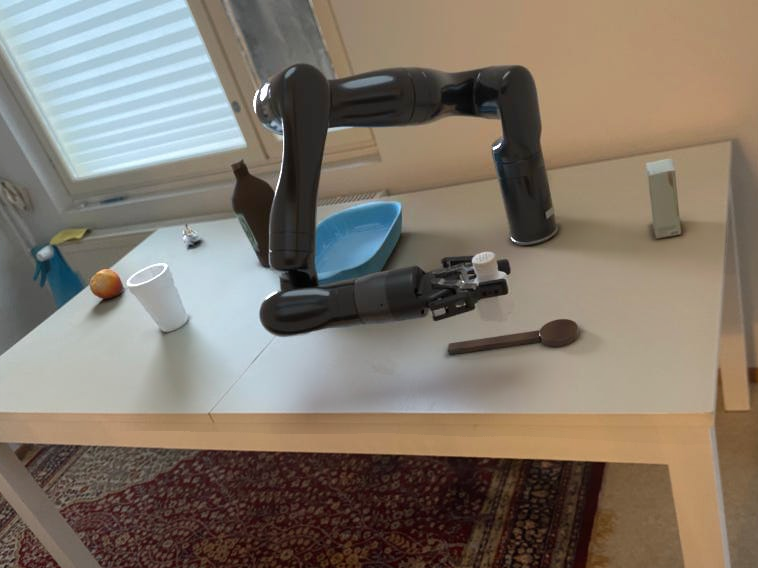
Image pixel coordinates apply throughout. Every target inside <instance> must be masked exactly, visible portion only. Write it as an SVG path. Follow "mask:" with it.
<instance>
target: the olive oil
mask: <svg viewBox="0 0 758 568" xmlns="http://www.w3.org/2000/svg"><path fill="white" fill-rule="evenodd" d="M229 165H230V167H231V171H232V173H233V175H234V177H235V182H234V186H233V188H232V190H231V194H230V205H231V208H232V211H233V213H234V215H235V218H237V221H238V223H239V224H240V226H241V227H242V228H241V229H242V230H243V232H244V233H245V236H246V238H247V239H248V241H249V244H250V245H251V248H252V249H253V252H254V253H255V255H256V257H257V259H258V261H259V264H260V265H261V266H264V267H270V264H269V224H270V214H271V208H272V204H273V199H274V196H275V192H276V191H275V190H274V188H273V187H272V186H271V184H270V183H268V182H267V181H266V180H264V179H261V178H259V177H257V176H255V175H253V174H251V172H250V171H249V169H248V166H247V164H246V163H245V161H244V159H243V158H237V159H234V160H232V161H231V162H230V163H229Z"/></svg>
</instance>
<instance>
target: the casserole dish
mask: <svg viewBox="0 0 758 568" xmlns="http://www.w3.org/2000/svg"><path fill="white" fill-rule="evenodd" d="M402 228H403V204H402V203H401V202H399V201H396V200H395V201H379V200H378V201H369V202H365V203H362V204H357V205H355V206H352V207H349V208H347V209H345V210H341V211H338V212H336V213H333V214H330V215H328V216H327V217H325V218H324V219H322V220H321V221H320V222H318V223H317V224H316V258H315V266H316V271H317V275H318V281H319V286H322V285H327V284H331V283H335V282H338V281H343V280H349V279H354V278H359V277H363V276H366V275H369V274H372V273H376V272H382V270H383V268H384V267H385V265H386V264H387V262H388V260H389V258H390V256H391V254H392V252H393V251H394V249H395V247H396V245H397V243H398V241H399V239H400V237H401V233H402V230H403V229H402Z"/></svg>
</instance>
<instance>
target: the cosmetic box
mask: <svg viewBox="0 0 758 568" xmlns="http://www.w3.org/2000/svg"><path fill="white" fill-rule="evenodd" d="M645 166H646V167H645V168H646V176H647V177H646V178H647V183H648V193H649V200H650V202H649V203H650V211H651V217H652V226H653V231H654V236H655V238H656V239H663V238H668V237H673V236H679V235H681V234H682V228H681V219H680V209H679V208H680V207H679V197H678V187H677V177H676V168H675V164H674V161H673V160H672V158H670V157H669V158H665V159H659V160H655V161H649V162H646V163H645Z"/></svg>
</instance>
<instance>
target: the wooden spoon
mask: <svg viewBox="0 0 758 568" xmlns="http://www.w3.org/2000/svg"><path fill="white" fill-rule="evenodd" d="M579 334H580V330H579V326H578V324H577V323H576V322H575V321H574V320H572V319H568V318H559V319H555V320H551V321H548V322H546V323H545V324H543V325H542V326H541V328H540V329H537V330H531V331H524V332H518V333H517V332H516V333H512V334H504V335H498V336H491V337H483V338H477V339H471V340H470V339H469V340H463V341H456V342H450V343H448V345H447V354H448V355H449V356H451V355H452V356H453V355H459V354H465V353H472V352H473V353H474V352H478V351H479V352H480V351H486V350H494V349H502V348H507V347H515V346H521V345H528V344H536V343H542V344H543V345H544V346H547V347H550V348H559V347H560V348H561V347H564V346H567V345H570V344H572V343H573V342H575V341H576V340H577V339H578V338H579Z"/></svg>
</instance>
